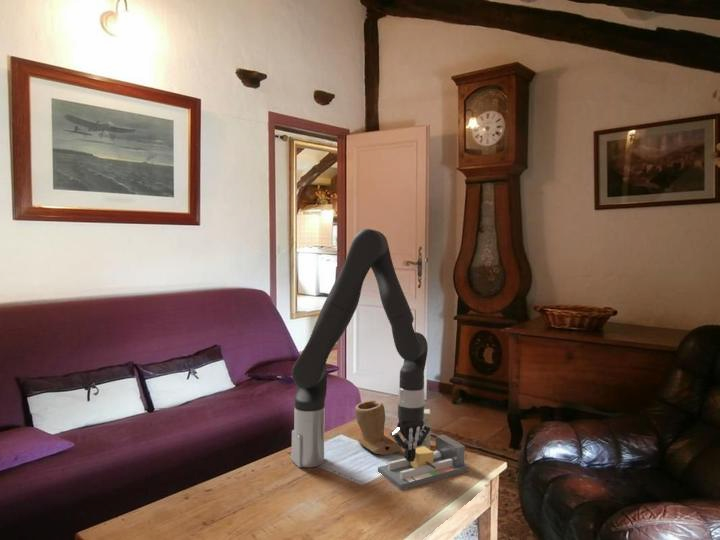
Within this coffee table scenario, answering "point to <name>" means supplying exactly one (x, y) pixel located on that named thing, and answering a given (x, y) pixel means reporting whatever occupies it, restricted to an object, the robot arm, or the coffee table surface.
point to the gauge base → (418, 472)
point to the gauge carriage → (424, 457)
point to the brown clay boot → (374, 428)
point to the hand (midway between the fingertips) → (409, 460)
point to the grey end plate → (450, 450)
